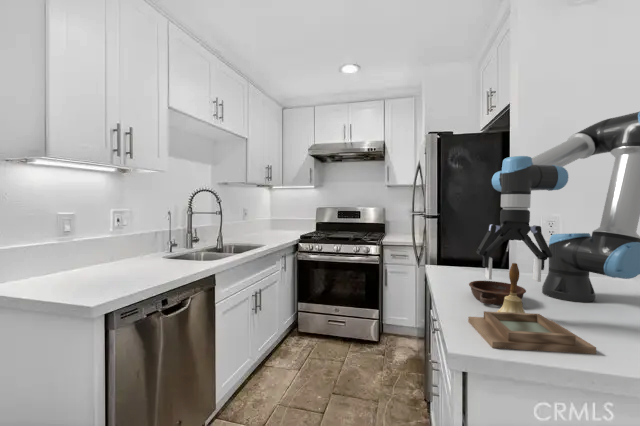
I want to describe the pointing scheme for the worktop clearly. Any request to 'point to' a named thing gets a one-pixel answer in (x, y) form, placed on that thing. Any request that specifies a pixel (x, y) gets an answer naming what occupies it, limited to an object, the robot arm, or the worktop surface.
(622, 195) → the robot arm
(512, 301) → the hand bell
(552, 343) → the walnut stand
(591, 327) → the worktop surface
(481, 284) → the dish
